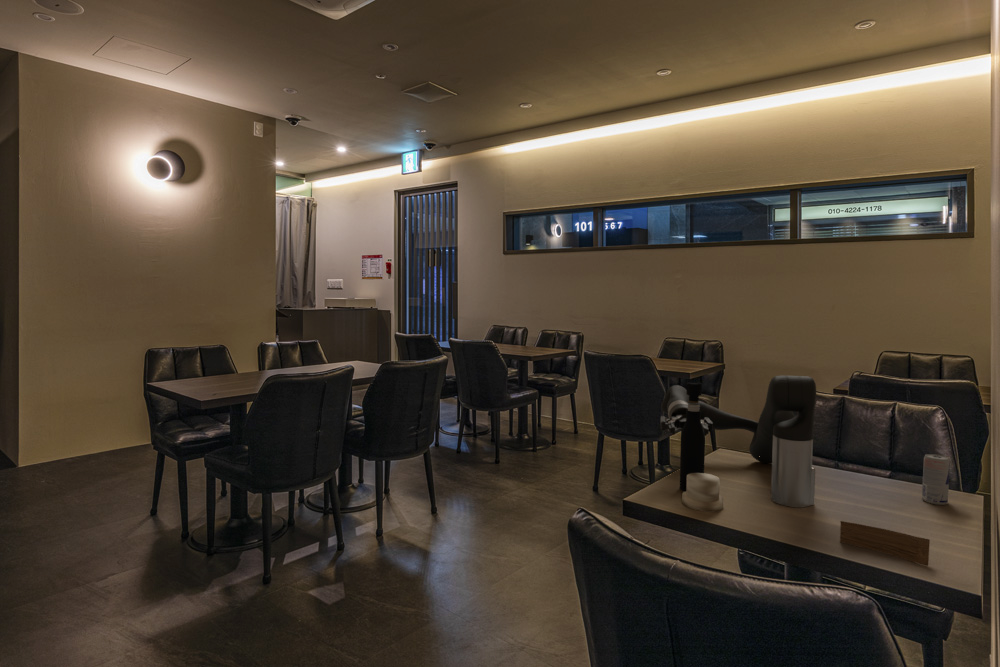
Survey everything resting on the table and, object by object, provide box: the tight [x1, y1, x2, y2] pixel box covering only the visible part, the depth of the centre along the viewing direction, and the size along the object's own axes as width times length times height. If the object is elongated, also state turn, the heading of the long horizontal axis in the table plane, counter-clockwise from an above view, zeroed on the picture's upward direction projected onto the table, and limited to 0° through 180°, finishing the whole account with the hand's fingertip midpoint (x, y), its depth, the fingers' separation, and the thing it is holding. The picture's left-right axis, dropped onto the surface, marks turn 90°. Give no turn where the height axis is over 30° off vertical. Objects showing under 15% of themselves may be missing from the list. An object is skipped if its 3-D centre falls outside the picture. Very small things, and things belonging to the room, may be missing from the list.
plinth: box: [681, 472, 724, 512], centre depth 143 cm, size 10×10×7 cm
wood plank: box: [839, 520, 931, 567], centre depth 115 cm, size 15×2×5 cm, turn 50°
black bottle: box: [679, 381, 706, 492], centre depth 153 cm, size 6×6×30 cm
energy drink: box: [921, 453, 951, 506], centre depth 145 cm, size 5×5×12 cm
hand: (689, 431), depth 154 cm, fingers open, 8 cm apart
